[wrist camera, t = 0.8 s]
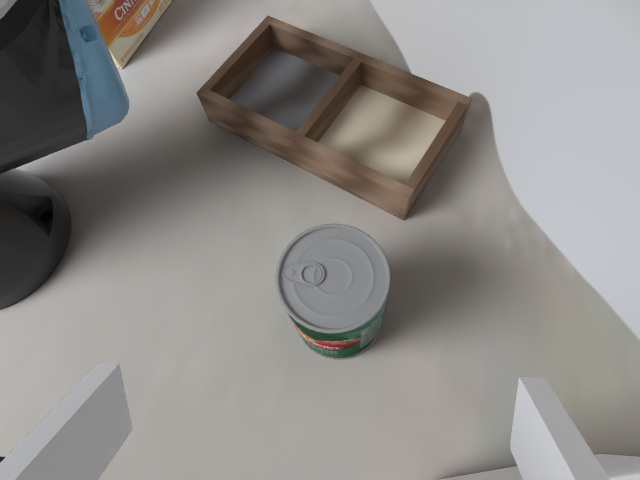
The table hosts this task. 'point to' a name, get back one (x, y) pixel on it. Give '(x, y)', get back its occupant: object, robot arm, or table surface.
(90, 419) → the robot arm
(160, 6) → the coffeecake box
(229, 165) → the table surface
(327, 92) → the slot caddy
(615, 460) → the cable organizer
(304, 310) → the canned tomato
